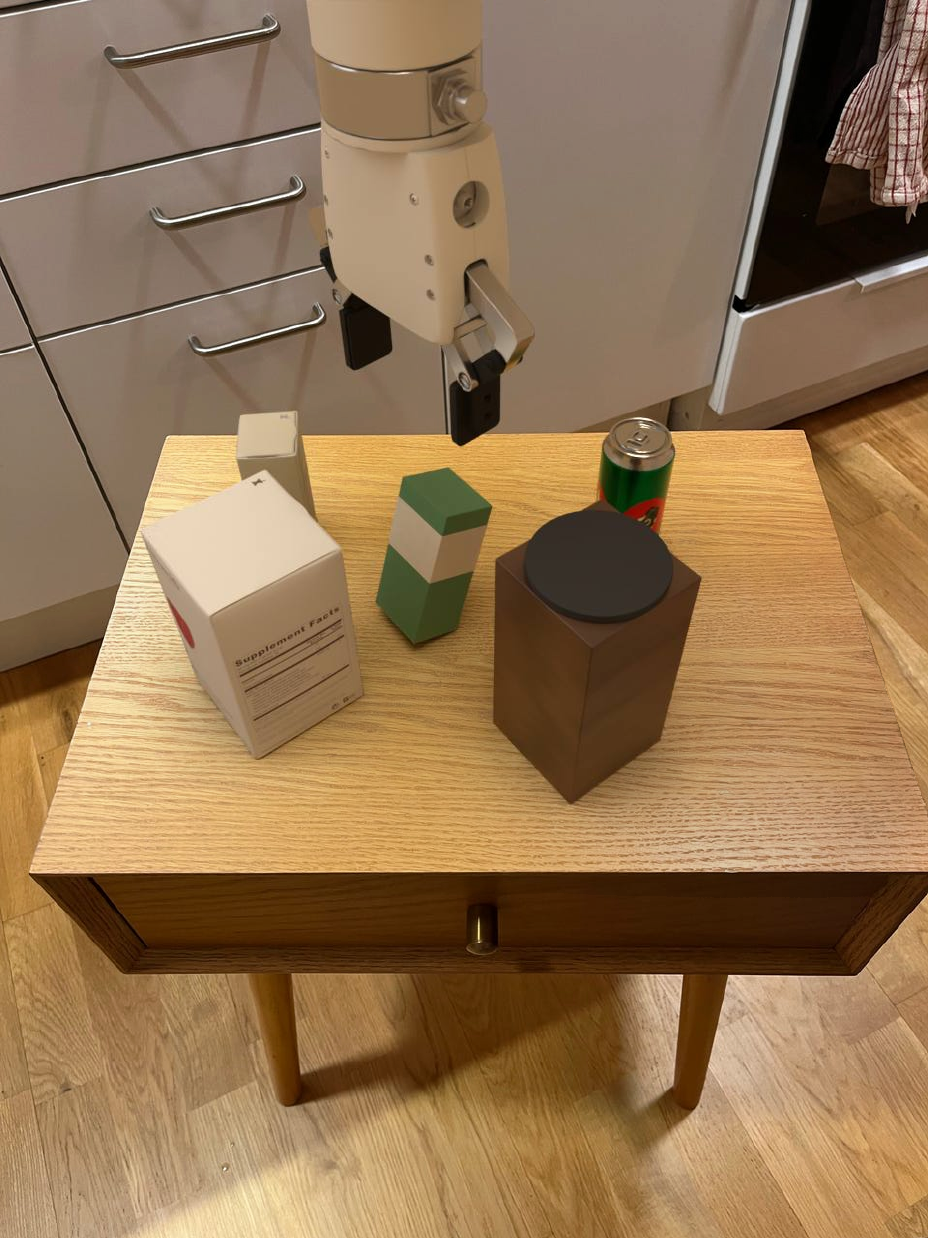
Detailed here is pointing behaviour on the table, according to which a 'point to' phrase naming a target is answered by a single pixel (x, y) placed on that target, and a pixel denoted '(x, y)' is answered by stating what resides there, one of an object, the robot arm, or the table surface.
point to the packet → (432, 553)
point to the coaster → (598, 566)
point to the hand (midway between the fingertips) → (420, 395)
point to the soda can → (637, 469)
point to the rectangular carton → (259, 609)
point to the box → (275, 453)
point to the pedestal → (584, 676)
